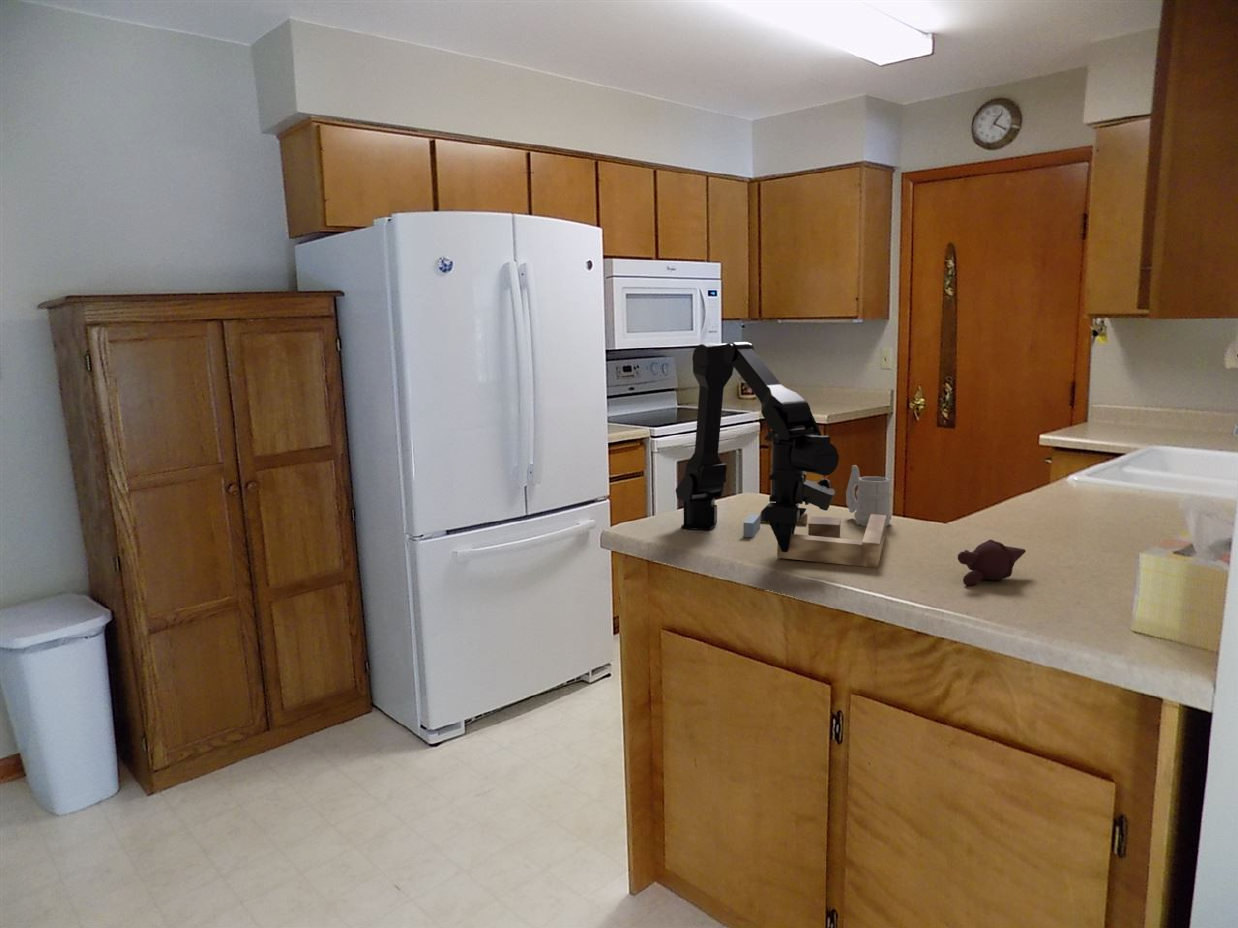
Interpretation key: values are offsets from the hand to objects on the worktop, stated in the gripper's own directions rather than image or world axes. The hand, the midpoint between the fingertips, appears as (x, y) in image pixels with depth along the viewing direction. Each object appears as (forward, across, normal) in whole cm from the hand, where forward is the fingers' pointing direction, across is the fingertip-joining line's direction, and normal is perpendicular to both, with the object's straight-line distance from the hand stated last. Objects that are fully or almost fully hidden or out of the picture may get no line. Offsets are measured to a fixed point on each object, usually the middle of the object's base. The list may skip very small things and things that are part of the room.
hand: (786, 549), depth 152 cm
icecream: (+2, -3, -35) cm, 35 cm away
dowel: (0, +27, +5) cm, 28 cm away
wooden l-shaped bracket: (+1, +10, -8) cm, 12 cm away
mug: (+2, +33, -12) cm, 35 cm away
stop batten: (+2, +17, +10) cm, 20 cm away
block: (+2, +16, -5) cm, 17 cm away
